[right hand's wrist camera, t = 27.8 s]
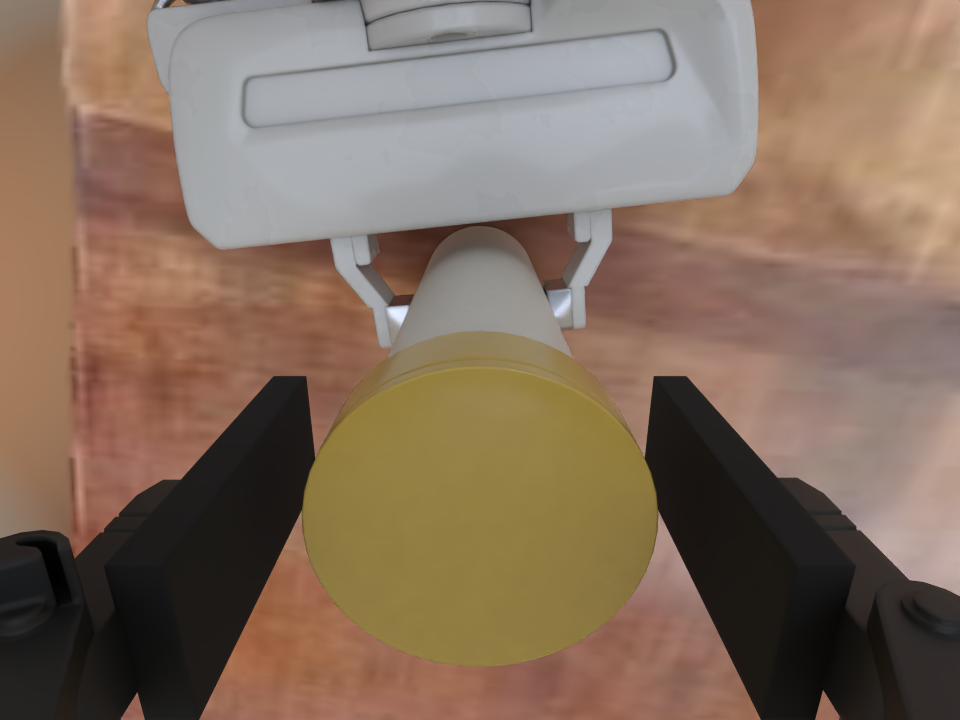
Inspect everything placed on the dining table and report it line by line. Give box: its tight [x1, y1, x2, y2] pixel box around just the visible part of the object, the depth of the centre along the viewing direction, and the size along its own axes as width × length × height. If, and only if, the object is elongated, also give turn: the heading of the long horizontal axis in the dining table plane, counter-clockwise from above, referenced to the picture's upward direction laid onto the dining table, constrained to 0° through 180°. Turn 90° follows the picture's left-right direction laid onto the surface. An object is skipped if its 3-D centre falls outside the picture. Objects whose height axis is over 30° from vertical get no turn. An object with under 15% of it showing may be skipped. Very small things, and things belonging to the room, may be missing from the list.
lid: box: [302, 331, 658, 667], centre depth 11 cm, size 6×6×2 cm
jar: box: [387, 226, 573, 359], centre depth 20 cm, size 5×5×20 cm
